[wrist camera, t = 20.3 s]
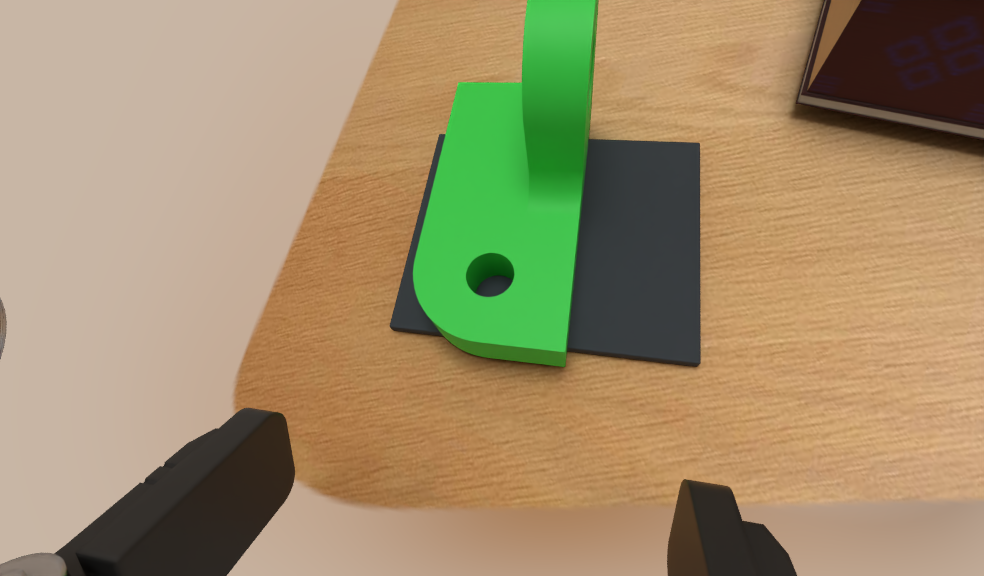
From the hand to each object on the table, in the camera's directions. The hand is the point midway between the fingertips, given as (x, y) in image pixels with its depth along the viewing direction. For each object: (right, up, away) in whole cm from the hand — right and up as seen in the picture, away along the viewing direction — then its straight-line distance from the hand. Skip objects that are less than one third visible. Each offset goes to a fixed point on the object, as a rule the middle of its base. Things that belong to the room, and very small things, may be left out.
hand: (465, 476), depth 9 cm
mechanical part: (+1, +7, +11) cm, 13 cm away
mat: (+3, +6, +11) cm, 13 cm away
